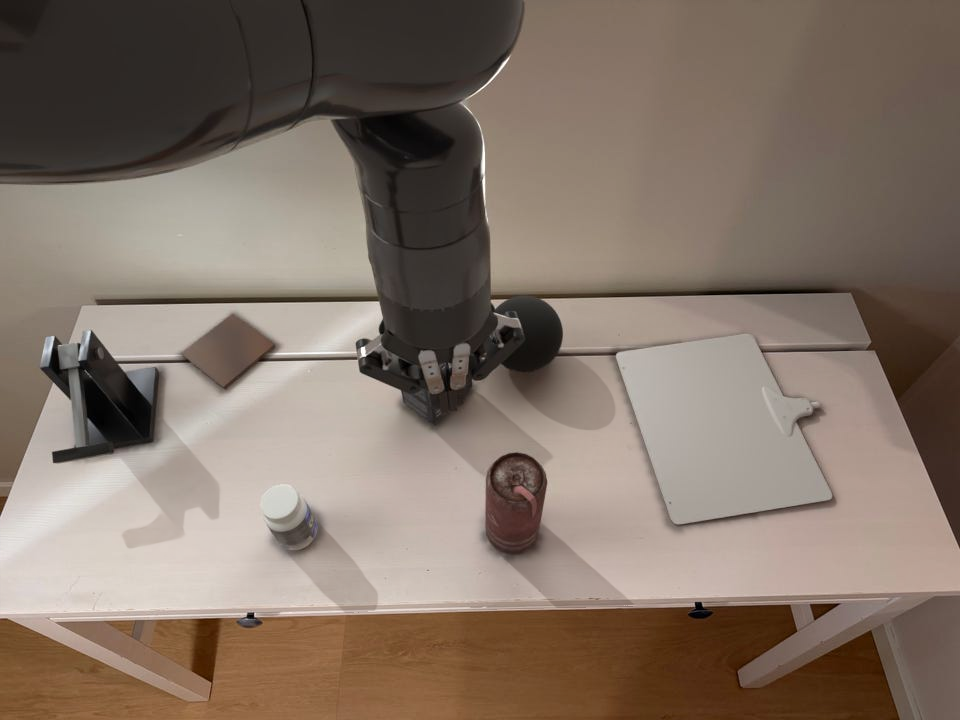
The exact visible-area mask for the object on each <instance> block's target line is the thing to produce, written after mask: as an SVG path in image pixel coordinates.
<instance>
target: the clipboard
mask: <svg viewBox="0 0 960 720" xmlns="http://www.w3.org/2000/svg"><path fill="white" fill-rule="evenodd" d="M615 359H616V362H617V365H618V368H619V371H620V374H621V377H622V379H623V384H624V386H625V389H626V392H627V395H628V398H629V400H630V404H631V406H632V410H633V413H634V415H635V418H636V422H637V424H638V427H639V430H640V433H641V436H642V438H643V442H644V445H645V447H646V451H647V453H648V456H649V460H650V463H651V465H652V469H653V471H654V474H655V477H656V480H657V483H658V486H659V489H660V492H661V495H662V497H663V500H664V504H665V507H666V510H667V512H668V516H669V519H670V521H671V522H672V523H673V524H674V525H677V526H679V525H685V524H692V523H697V522H704V521H710V520H716V519H722V518H728V517H729V518H730V517H735V516H741V515H746V514H753V513H759V512H765V511H772V510H778V509H784V508H789V507H795V506H800V505H801V506H802V505H809V504H814V503H820V502H826V501H830V500H831V499H832V498H833V493H832V490H831V489H830V487H829V485H828V483H827V480H826V479H825V477H824V474H823V473H822V470H821V469H820V466H819V465H818V462H817V461H816V458H815V457H814V455H813V452H812V451H811V448H810V447H809V445H808V443H807V440H806V439H805V436H804V435H803V433H802V430H801V428H800V426H799V425H798V423H797V420H799V419H800V418H804V417H809V416H811V415H812V414H813V413H814V410H815V409H819V408H821V403H820V402H819V401H812V402H811V401H810V400H809V399H808V398H807V397H798V398H793V397H789V396H784V395H783V393H782V390H781V388H780V386H779V384H778V382H777V380H776V379H775V377H774V375H773V373H772V371H771V369H770V366H769V364H768V363H767V361H766V358H765V357H764V354H763V353H762V351H761V349H760V346H759V345H758V343H757V340H756V338H755V337H754V335H752V334H750V333H741V334H740V333H739V334H734V335H733V334H732V335H727V336H719V337H713V338H706V339H700V340H692V341H686V342H679V343H672V344H665V345H664V344H663V345H657V346H651V347H650V346H649V347H643V348H637V349H636V348H635V349H630V350H623V351H618V352H617V353H616V354H615Z"/></svg>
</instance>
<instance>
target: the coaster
mask: <svg viewBox="0 0 960 720" xmlns="http://www.w3.org/2000/svg"><path fill="white" fill-rule="evenodd" d="M275 348H276V344H275V343H274V342H273V341H271V340H270V339H269V338H267V337H266V336H264V335H263V334H261V333H260V332H259V331H258V330H256V329H255V328H253V326H250V325H249V324H248V323H246V322H245V321H243V319H241V318H240V317H238V316H237V315H235V314H234V313H231V314H230V315H229V316H227V317H225V318H224V319H223V320H222V321H221V322H220V323H218V324H217V325H216V326H214V327H213V328H212V329H210V330H209V331H208V332H207V333H205V334H204V335H203V336H202V337H200V338H199V339H197V340H196V341H195V342H194V343H193V344H191V345H190V346H189V347H187V348H186V349H185V350H183V351H182V352H181V353H180V354H181V356H182V357H183V358H184V359H185V360H186V361H188V362H189V363H191V364H192V365H193V366H194V367H195V368H197V369H198V370H199V371H201V372H202V373H203V374H204V375H206V376H207V377H208V378H210V379H211V380H212V381H213V382H214V383H216V384H217V385H218V386H220V387H221V388H222V389H224V390H226V389H228V387H230V386H231V385H232V384H233V383H235V382H236V381H237V380H238V379H239V378H240V377H242V376H243V375H244V374H245V373H246V372H247V371H249V370H250V369H251V368H252V367H253V366H255V365H256V364H257V363H258V362H260V361H261V360H262V359H263V358H265V356H266V355H268V354H269V353H270V352H271V351H273V350H274V349H275Z"/></svg>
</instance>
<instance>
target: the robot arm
mask: <svg viewBox="0 0 960 720" xmlns="http://www.w3.org/2000/svg"><path fill="white" fill-rule="evenodd" d="M525 12H526V0H0V185H20V186H21V185H22V186H24V185H25V186H63V185H65V186H71V185H73V186H75V185H90V184H104V183H106V184H107V183H114V182H121V181H129V180H137V179H142V178H148V177H154V176H158V175H163V174H164V175H165V174H169V173H173V172H176V171H180V170H183V169H187V168H190V167H194V166H197V165H200V164H204V163H205V162H209V161H212V160H214V159H216V158H219V157H222V156H224V155H227V154H230V153H233V152H235V151H239V150H241V149H244V148H246V147H249V146H251V145H254V144H258V143H260V142H262V141H265V140H268V139H270V138H273V137H276V136H278V135H281V134H283V133H287V132H288V131H291V130H293V129H296V128H298V127H300V126H302V125H304V124H308V123H311V122H317V121H328V120H330V122H331V124H332V127H333V128H334V131H335V132H336V134H337V135H338V137H339V139H340V140H341V142H342V143H343V145H344V146H345V149H346V150H347V152H348V153H349V156H350V157H351V159H352V161H353V166H354V171H355V177H356V181H357V187H358V191H359V195H360V200H361V204H362V208H363V215H364V220H365V239H366V248H367V258H368V260H369V261H368V262H369V264H370V267H371V271H372V275H373V280H374V284H375V289H376V293H377V298H378V302H379V307H380V312H381V316H382V320H381V322H380V323H379V325H378V333H379V334H378V335H377V336H375V338H373V339H370V338H366V337H363V338H359V339H358V340H357V341H355V349H356V356H357V363H358V364H357V365H358V371H359V373H360V374H362V375H364V376H366V377H369V378H371V379H372V380H373V379H374V380H376V381H378V382H380V383H382V384H385V385H387V386H389V387H392V388H394V389H397V390H399V391H400V392H401V391H403V392H406V393H408V394H415V393H418V392H419V391H420V390H421V389H426V390H428V394H429V399H430V403H431V408H432V409H433V410H438V409H440V412H441V415H442V414H445V415H446V414H449V413H450V414H451V413H456V412H458V411H459V408H458V406H462V405H464V403H465V401H466V399H465V398H466V396H465V395H464V386H465V382H466V381H467V380H469V379H471V378H472V381H474V382H480V381H484V380H485V379H486V378H487V377H489V376H490V374H492V373H493V372H494V371H495V370H496V369H497V368H498V367H499V366H500V365H501V363H502V362H503V361H504V360H505V359H506V358H507V357H508V356H510V355H511V354H512V353H513V352H514V351H515V350H516V349H517V348H518V347H519V346H520V345H521V344H522V343H523V342H524V341H525V336H524V333H523V329H522V326H521V323H520V320H519V318H518V315H517V313H516V312H515V311H508V312H505V313H504V314H503V315H500V314H496V313H494V312H495V309H496V308H495V306H494V305H495V304H493V303H492V281H491V280H492V279H491V277H492V275H491V271H492V270H491V268H492V267H491V264H492V263H491V231H490V224H489V219H488V214H487V206H486V153H485V152H486V151H485V141H484V136H483V132H482V128H481V126H480V123H479V122H478V119H477V118H476V117H475V116H474V114H473V112H472V111H471V110H470V109H469V108H468V107H467V106H465V105H464V104H463V103H462V102H463V101H465V100H467V99H469V98H471V97H473V96H474V95H476V94H477V93H479V92H480V91H482V89H484V88H485V87H486V86H487V85H489V83H491V82H492V80H494V79H495V78H496V76H497V75H498V74H499V73H500V72H501V70H502V69H503V68H504V67H505V65H506V64H507V62H508V61H509V59H510V57H511V55H512V54H513V52H514V50H515V47H516V46H517V44H518V41H519V39H520V36H521V32H522V29H523V24H524V20H525ZM484 355H485V357H484V358H483V356H484ZM443 363H445V369H440V367H439V365H440V364H443ZM442 370H443V373H442ZM401 372H402V373H401Z"/></svg>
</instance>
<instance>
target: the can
mask: <svg viewBox="0 0 960 720" xmlns="http://www.w3.org/2000/svg"><path fill="white" fill-rule="evenodd" d="M547 487H548V477H547V473H546V471H545V469H544V467H543V465H541V464H540V462H539V461H538V460H537V459H535V458H534V457H533V456H531V455H529V454H527V453H524V452H518V451H516V452H508V453H505V454H503V455H500V456H499V457H498V458H496V460H494V462H492V463H491V464H490V466H489V468H488V470H487V472H486V476H485V520H484V521H485V524H484V525H485V534H486V535H485V536H486V537H487V539H488V541H489V543H490V544H491V545H492V547H494V548H495V550H497V551H499V552H501V553H502V554H509V555H519V554H523V553H524V552H526V551H529V550H530V549H531V548H532V547H533V546H534V545H535V543H536V542H537V540H538V537H539V533H540V527H541V522H542V516H543V510H544V504H545V500H546V494H547Z"/></svg>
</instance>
